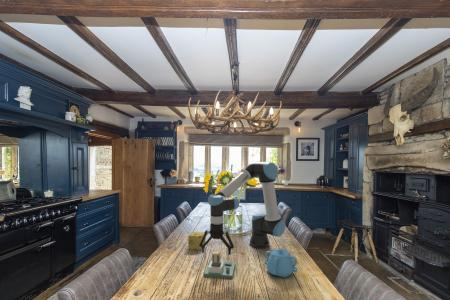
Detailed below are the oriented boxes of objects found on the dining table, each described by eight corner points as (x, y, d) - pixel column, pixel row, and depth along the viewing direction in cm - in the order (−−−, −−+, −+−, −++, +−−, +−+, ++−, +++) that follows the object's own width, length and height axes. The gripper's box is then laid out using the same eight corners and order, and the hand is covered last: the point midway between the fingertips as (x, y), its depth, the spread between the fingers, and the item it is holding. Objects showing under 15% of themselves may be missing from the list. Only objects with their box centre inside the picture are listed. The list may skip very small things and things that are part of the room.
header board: (235, 264, 153) (235, 257, 153) (232, 278, 135) (232, 270, 135) (210, 262, 155) (210, 255, 155) (203, 276, 137) (203, 268, 137)
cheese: (201, 250, 175) (201, 236, 175) (187, 249, 177) (187, 235, 177) (205, 245, 185) (205, 232, 185) (192, 244, 187) (192, 231, 187)
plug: (220, 267, 144) (220, 250, 145) (218, 272, 139) (219, 254, 139) (213, 267, 145) (213, 250, 145) (211, 271, 139) (211, 253, 140)
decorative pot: (299, 279, 135) (299, 254, 135) (271, 280, 133) (271, 255, 133) (288, 266, 151) (289, 244, 151) (263, 267, 149) (263, 244, 150)
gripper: (238, 222, 145) (238, 258, 144) (197, 220, 148) (197, 255, 148) (237, 225, 138) (237, 263, 137) (194, 223, 141) (193, 260, 140)
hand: (216, 259), depth 142 cm, fingers open, 13 cm apart
